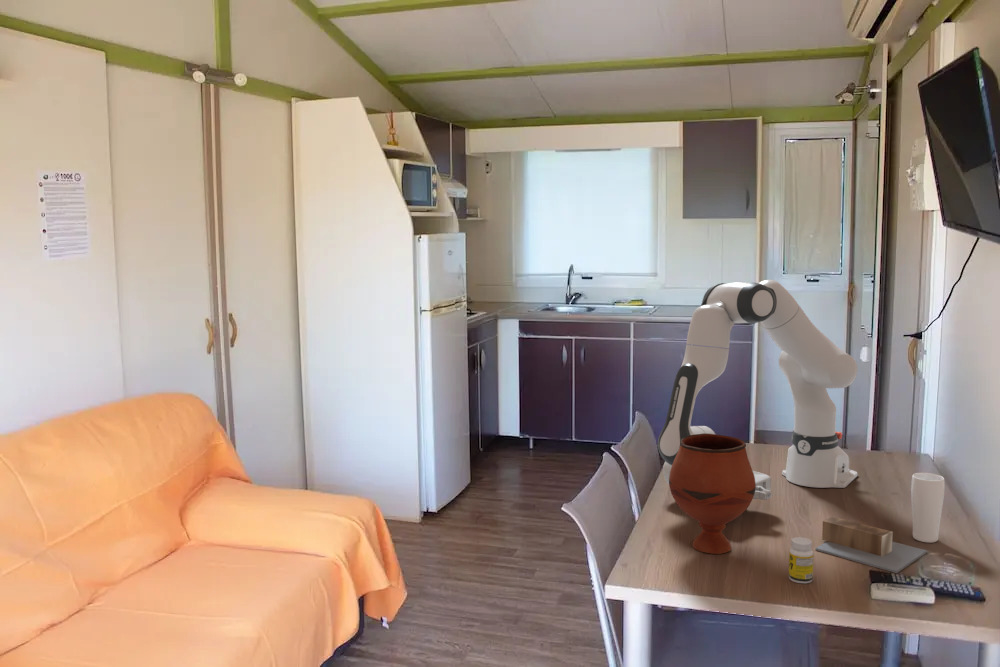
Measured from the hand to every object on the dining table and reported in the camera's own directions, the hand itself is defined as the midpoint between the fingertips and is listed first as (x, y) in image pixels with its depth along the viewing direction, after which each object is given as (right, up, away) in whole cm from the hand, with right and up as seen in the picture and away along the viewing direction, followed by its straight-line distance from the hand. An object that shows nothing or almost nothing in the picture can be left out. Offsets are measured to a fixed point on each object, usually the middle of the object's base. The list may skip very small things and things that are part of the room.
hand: (768, 495), depth 206 cm
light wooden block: (+10, -5, -11) cm, 16 cm away
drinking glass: (+33, -8, -11) cm, 36 cm away
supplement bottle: (-4, -11, -32) cm, 34 cm away
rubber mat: (+17, -9, -18) cm, 26 cm away
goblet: (-18, -9, -14) cm, 24 cm away
